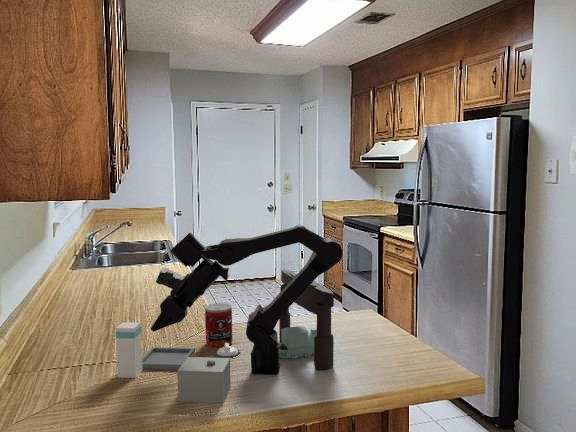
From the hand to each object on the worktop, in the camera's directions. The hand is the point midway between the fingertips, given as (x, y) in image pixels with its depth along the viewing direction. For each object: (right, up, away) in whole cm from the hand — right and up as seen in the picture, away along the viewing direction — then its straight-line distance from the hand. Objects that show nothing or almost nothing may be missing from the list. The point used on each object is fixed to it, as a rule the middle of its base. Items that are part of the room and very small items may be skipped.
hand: (156, 324), depth 128 cm
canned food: (+13, -10, +21) cm, 27 cm away
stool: (+37, -11, +13) cm, 41 cm away
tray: (+1, -11, +8) cm, 14 cm away
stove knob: (+16, -11, +13) cm, 24 cm away
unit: (+14, -13, -12) cm, 23 cm away
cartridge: (-6, -12, 0) cm, 14 cm away
